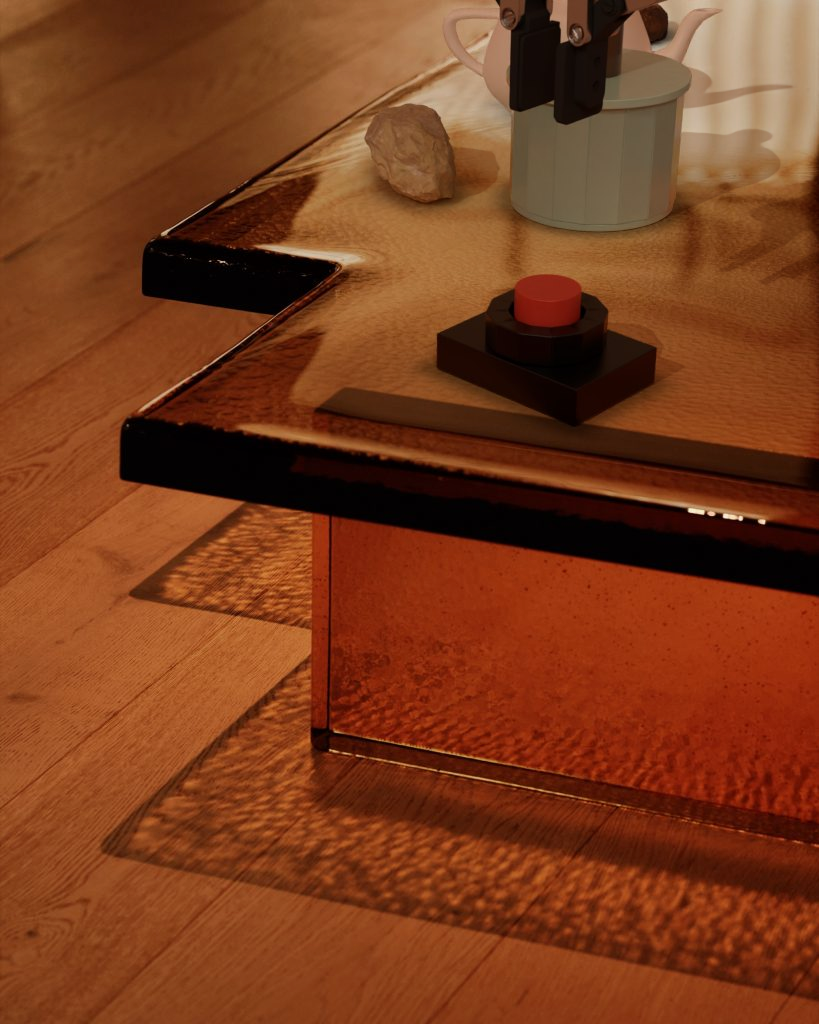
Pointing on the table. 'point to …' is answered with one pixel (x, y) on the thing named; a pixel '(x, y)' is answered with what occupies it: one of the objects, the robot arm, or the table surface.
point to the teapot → (501, 39)
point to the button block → (548, 360)
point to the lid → (639, 77)
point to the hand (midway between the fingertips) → (555, 108)
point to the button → (547, 300)
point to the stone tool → (412, 152)
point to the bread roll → (655, 22)
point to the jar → (596, 166)
